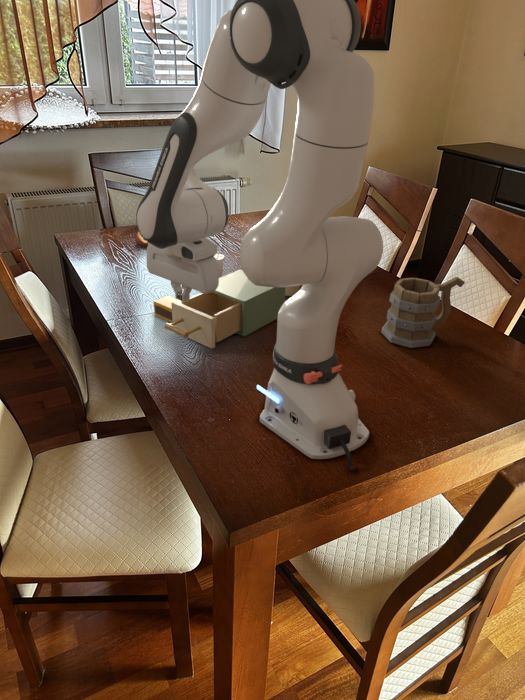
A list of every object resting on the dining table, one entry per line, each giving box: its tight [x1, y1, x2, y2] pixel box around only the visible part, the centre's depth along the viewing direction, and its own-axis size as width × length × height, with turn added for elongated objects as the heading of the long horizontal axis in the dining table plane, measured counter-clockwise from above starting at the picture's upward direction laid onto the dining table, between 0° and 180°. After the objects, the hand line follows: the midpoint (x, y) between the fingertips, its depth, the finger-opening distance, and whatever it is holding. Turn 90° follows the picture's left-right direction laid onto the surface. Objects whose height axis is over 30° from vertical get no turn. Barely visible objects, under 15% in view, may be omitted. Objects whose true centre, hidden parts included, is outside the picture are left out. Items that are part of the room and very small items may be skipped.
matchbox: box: [152, 294, 182, 323], centre depth 140 cm, size 8×6×4 cm, turn 51°
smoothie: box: [211, 241, 226, 278], centre depth 156 cm, size 6×6×14 cm
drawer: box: [163, 292, 242, 349], centre depth 130 cm, size 21×14×8 cm, turn 141°
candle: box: [285, 285, 300, 297], centre depth 155 cm, size 6×6×10 cm
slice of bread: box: [135, 231, 148, 248], centre depth 197 cm, size 18×18×4 cm
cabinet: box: [212, 268, 286, 337], centre depth 140 cm, size 17×15×10 cm
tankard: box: [380, 276, 466, 349], centre depth 133 cm, size 20×13×15 cm, turn 105°
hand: (182, 300), depth 121 cm, fingers closed
